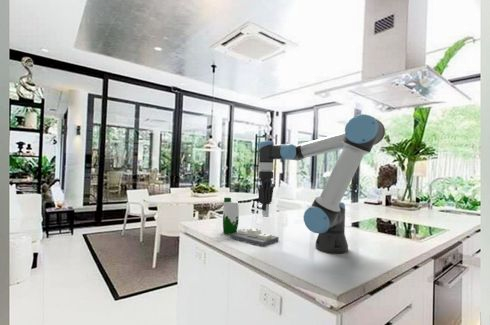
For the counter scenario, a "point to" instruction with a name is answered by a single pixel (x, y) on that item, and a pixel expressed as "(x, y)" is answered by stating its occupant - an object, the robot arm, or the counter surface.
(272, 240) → the keypad board
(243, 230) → the key three
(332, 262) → the counter surface
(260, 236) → the key one
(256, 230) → the key two
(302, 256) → the counter surface
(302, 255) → the counter surface
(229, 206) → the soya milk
